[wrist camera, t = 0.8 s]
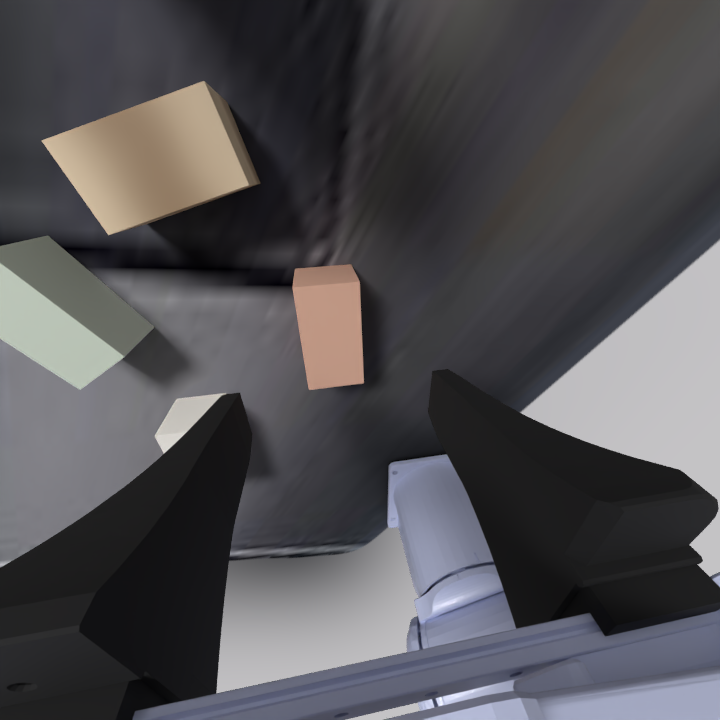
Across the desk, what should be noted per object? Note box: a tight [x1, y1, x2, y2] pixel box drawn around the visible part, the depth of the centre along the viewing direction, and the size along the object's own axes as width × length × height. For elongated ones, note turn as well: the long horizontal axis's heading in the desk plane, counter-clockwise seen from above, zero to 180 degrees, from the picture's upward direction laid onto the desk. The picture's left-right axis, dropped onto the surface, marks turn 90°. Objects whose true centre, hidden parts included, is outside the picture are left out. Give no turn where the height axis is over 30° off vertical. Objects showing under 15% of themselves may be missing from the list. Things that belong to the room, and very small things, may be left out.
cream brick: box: [155, 393, 226, 453], centre depth 21 cm, size 6×3×4 cm, turn 3°
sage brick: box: [0, 236, 155, 390], centre depth 15 cm, size 6×3×4 cm, turn 32°
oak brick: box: [42, 81, 261, 235], centre depth 13 cm, size 6×3×4 cm, turn 107°
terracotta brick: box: [293, 264, 364, 390], centre depth 18 cm, size 6×3×4 cm, turn 2°
